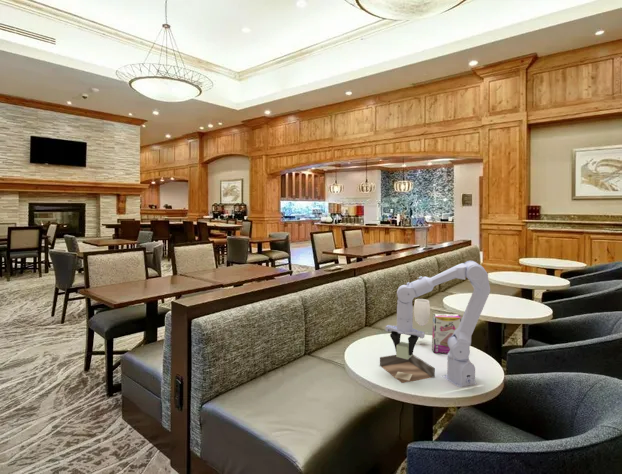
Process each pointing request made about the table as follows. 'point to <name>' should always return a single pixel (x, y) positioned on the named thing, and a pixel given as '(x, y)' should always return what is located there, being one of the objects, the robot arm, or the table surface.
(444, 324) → the candy bar box
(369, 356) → the table surface
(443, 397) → the table surface
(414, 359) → the tray
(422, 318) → the cup
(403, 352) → the sage cube
